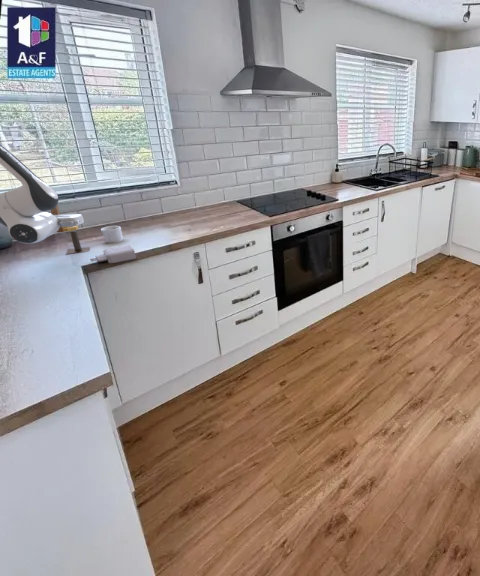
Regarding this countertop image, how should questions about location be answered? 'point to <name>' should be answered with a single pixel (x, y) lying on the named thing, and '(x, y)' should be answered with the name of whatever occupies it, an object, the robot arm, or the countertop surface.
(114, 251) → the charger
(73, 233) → the stand
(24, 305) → the countertop surface
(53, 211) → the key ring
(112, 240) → the cup
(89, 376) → the countertop surface
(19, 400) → the countertop surface
